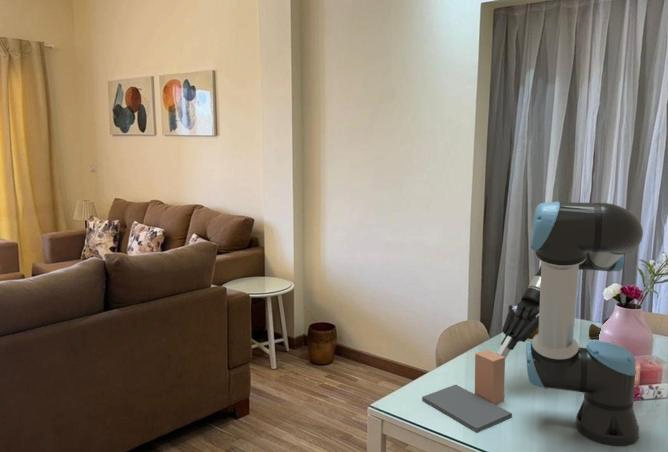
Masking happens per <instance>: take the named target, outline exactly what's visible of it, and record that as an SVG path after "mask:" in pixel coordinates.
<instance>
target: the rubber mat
mask: <svg viewBox="0 0 668 452" xmlns="http://www.w3.org/2000/svg"><path fill="white" fill-rule="evenodd" d="M421 398H422V399H421V401H423V402H424V403H426V404H428V405H429V406H431V407H432V408H434V409H435V410H438V411H440V412H441V413H442V414H445V415H446V416H448V417H449V418H452V420H455V421H456V422H458V423H460V424H462V425H463V426H465V427H467V428H468V429H469V430H472V431H473V432H475V433H479V432H481V431H484V430H486V429H488V428H490V427H492V426H496V425H497V424H500V423H502V422H504V421H506V420H508V419H511V418H513V413H512V412H510V411H509V410H506V409H504V408H503V407H500V406H499V405H498V404H496V405H495V404H493V403H491V402H489V401H487V400H485V399H483V398H481V397H479V396H477V395H475V393H473V392H471V391H469V390H468V389H467V388H463V387H461V386H460V385H458V384H454V385H453V384H452V385H450V386H448V387H444V388H442V389H439V390H437V391H435V392H432V393H429V394H426V395H423V396H422V397H421Z"/></svg>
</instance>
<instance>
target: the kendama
mask: <svg viewBox="0 0 668 452" xmlns="http://www.w3.org/2000/svg"><path fill="white" fill-rule="evenodd" d="M609 318H610V317H607V318H605V319H604V320H603V323H602V324H601V326H602V325H603V324H604V323H605V322H606V321H607V320H608V319H609ZM601 328H602V327H599V326H597V325H596V324H594V323H591V324H590V325H589V328H588V329H589V330H588V336H589V338H590V339H595V338H599V334H600V331H601Z"/></svg>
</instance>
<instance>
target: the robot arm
mask: <svg viewBox="0 0 668 452" xmlns="http://www.w3.org/2000/svg"><path fill="white" fill-rule="evenodd" d="M643 233H644V231H643V226H642V224H641V221H640V220H639V219H638V218H637V216H636V215H635V214H634V213H632V212H631V211H629V209H628V210H627V209H626V208H624V207H622V206H620V205H617V204H614V203H608V202H571V201H568V202H565V201H564V202H563V201H552V202H550V201H549V202H541V203H539V204H537V206H536V207H535V210H534V215H533V218H532V223H531V232H530V238H529V248H530V250H532V251H534V252H535V256H536V258H537V259H538V260H539V261H540V263H541V264H540V266H539V268H538V270H537V272H536V273H535V275H534V276H533V278H532V280H531V281H530V283H529V284H528V287H527V288H526V289H525V291H524V292H523V294H522V296H521V300H520V301H519V302H518V303H517V304H516V305H512V304H510V305H508V313H507V315H506V318H505V321H504V324H503V326H502V330H501V331H502V333H503V334H504V335H505V336H504V337H503V340H502V341H501V343H500V345H501V346H500V348H499V349H498V351H497V353H496V354H498V355H501V356H503V357H505V360H506V359H507V357H508V355H509V353H510V352H511V351H513V350H514V349H515V348H516V346H517V344H518V343H519V342H522V343H525V342H526V341H528V340H527V339H528V338H529V336H530V335H531V334H532V333H533V332H534V331H535V330H536V329H537V328H538V327H539V330H538V334H537V335H535V336H534V338H533V339H532V341H530V342H527V343H526V346H525V356H526V357H525V358H526V368H527V376H528V381H529V383H530V384H531V385H532V386H534V387H535V388H536V387H537V388H542V389H547V390H548V389H550V390H560V391H561V390H562V391H569V392H576V393H577V392H579V393H583V394H584V398H583V400H582V403H581V405H580V407H579V409H578V412H577V414H576V418H575V426H576V429H577V431H578V432H579V433H580V434H581V435H583V436H584V437H586V438H588V439H590V440H592V441H595V442H598V443H599V444H604V445H611V446H628V445H632V444H635V443H636V442H637V441H638V439H639V435H640V427H639V424H638V420H637V417H636V413H635V410H634V396H635V383H636V382H635V381H636V375H637V368H636V366H637V365H636V357H635V356H634V354H632V352H631V351H629V350H628V349H626V348H624V347H623V346H621V345H618V344H616V343H613V342H612V343H611V342H607V341H602V340H601V341H596V340H595V341H589V342H588V343H587V344H586V345H585V347H580V345H579V343H578V342H577V340H576V339H575V338H574V333H575V331H574V330H575V321H576V309H577V308H576V307H577V296H578V295H577V294H578V285H579V284H578V283H579V282H578V280H579V271H584V270H585V271H599V272H600V271H601V272H609V273H611V272H621V271H622V270H623V267H624V265H625V263H624V262H625V255H626V254H630V253H631V252H633V251H635V250H636V249H637V248H638V246H640V244H641V242H642V241H643V236H644V235H643Z"/></svg>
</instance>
